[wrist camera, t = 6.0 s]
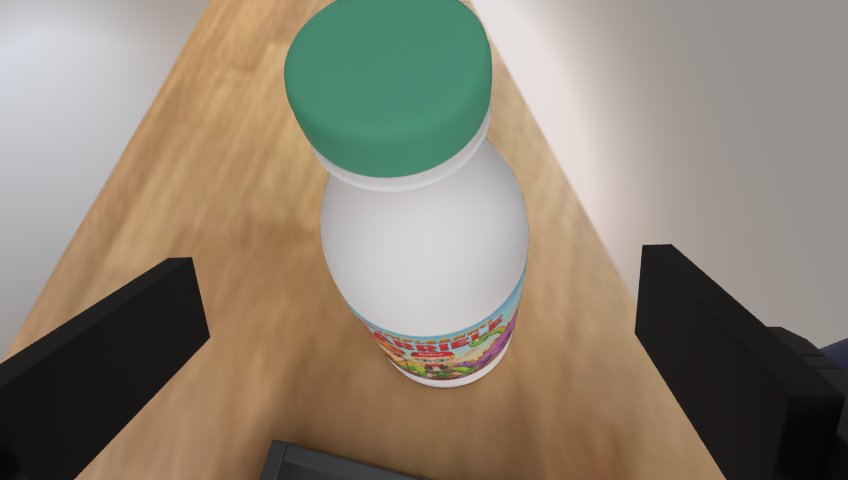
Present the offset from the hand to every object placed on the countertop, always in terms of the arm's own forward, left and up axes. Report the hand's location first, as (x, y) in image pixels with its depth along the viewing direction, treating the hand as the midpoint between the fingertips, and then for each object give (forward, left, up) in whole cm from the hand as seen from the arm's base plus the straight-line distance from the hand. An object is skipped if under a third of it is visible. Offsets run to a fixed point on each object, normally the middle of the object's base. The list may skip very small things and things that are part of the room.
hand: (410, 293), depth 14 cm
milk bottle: (+1, -3, -14) cm, 14 cm away
